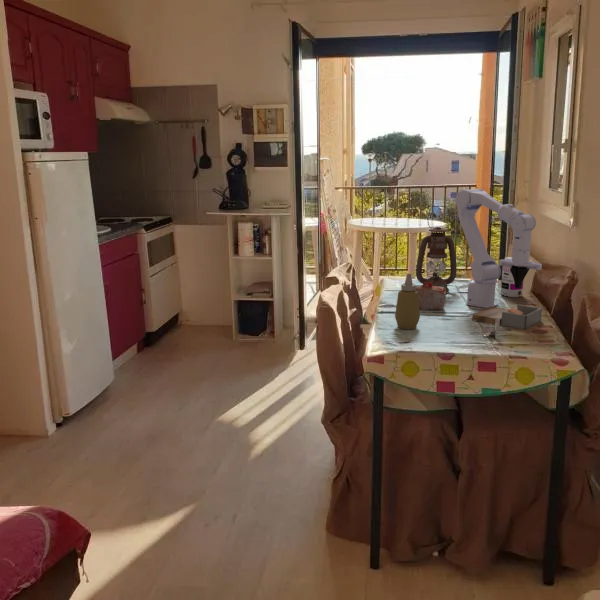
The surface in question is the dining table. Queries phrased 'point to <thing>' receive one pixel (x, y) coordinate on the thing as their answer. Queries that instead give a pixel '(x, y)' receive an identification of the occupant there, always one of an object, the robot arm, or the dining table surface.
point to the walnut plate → (489, 314)
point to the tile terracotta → (515, 311)
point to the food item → (431, 296)
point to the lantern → (437, 257)
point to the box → (522, 317)
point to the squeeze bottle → (407, 305)
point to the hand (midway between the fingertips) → (518, 287)
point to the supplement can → (509, 283)
